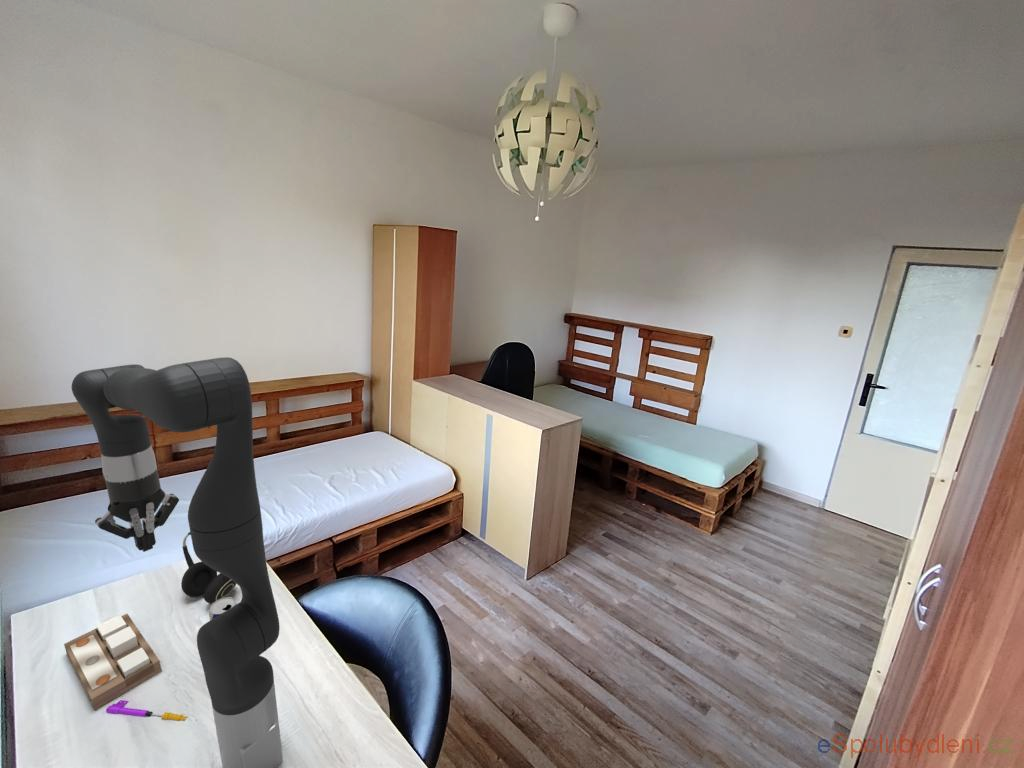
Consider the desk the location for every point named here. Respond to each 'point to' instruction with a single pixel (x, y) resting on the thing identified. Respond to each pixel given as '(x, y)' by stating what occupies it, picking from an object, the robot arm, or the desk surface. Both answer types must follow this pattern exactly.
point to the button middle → (121, 642)
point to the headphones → (204, 580)
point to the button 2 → (133, 662)
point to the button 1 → (111, 627)
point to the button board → (107, 666)
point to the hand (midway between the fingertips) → (146, 548)
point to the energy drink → (221, 606)
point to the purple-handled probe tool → (140, 712)
